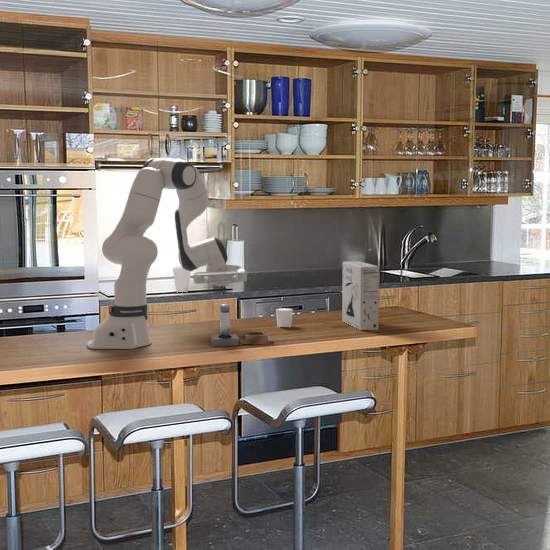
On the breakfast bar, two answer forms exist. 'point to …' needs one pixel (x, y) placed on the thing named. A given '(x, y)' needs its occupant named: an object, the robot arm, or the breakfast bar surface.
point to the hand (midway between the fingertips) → (221, 279)
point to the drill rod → (224, 321)
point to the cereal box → (360, 295)
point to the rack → (255, 338)
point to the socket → (225, 340)
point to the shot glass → (284, 317)
